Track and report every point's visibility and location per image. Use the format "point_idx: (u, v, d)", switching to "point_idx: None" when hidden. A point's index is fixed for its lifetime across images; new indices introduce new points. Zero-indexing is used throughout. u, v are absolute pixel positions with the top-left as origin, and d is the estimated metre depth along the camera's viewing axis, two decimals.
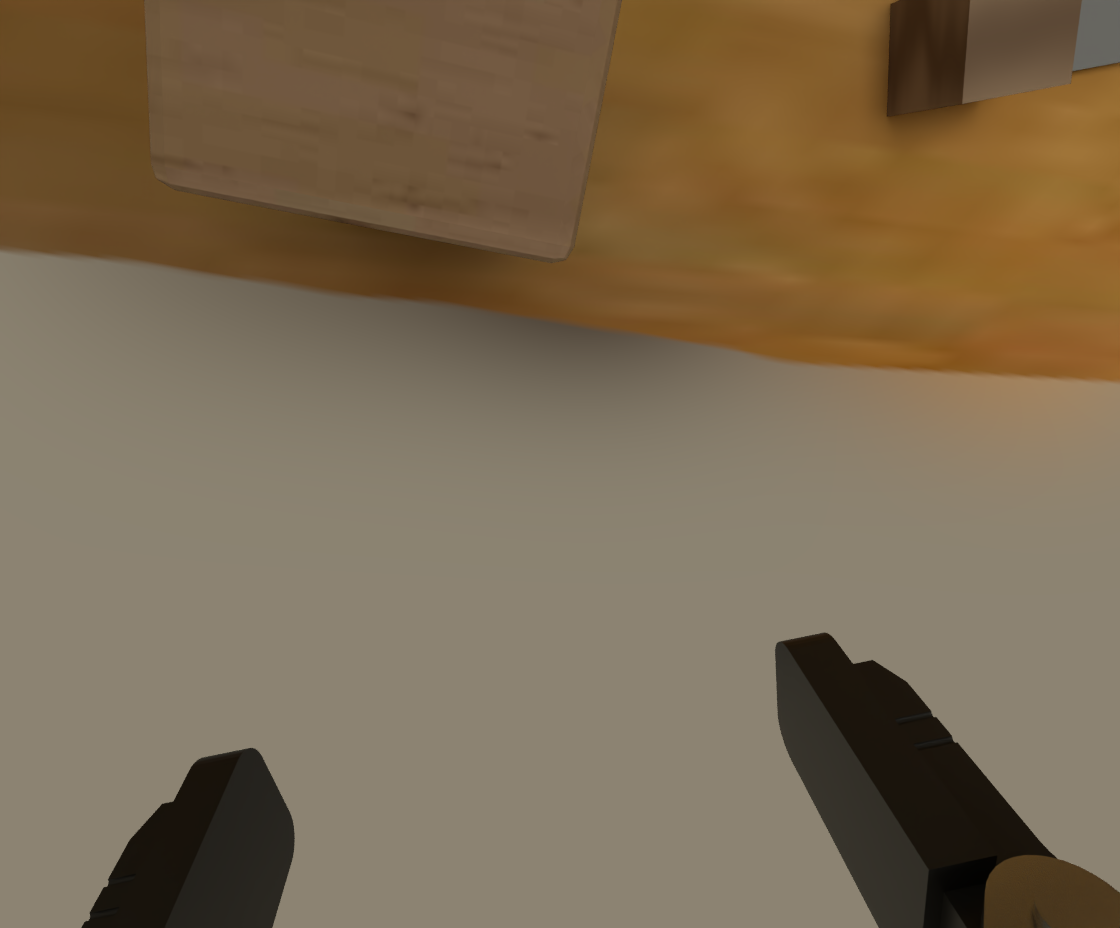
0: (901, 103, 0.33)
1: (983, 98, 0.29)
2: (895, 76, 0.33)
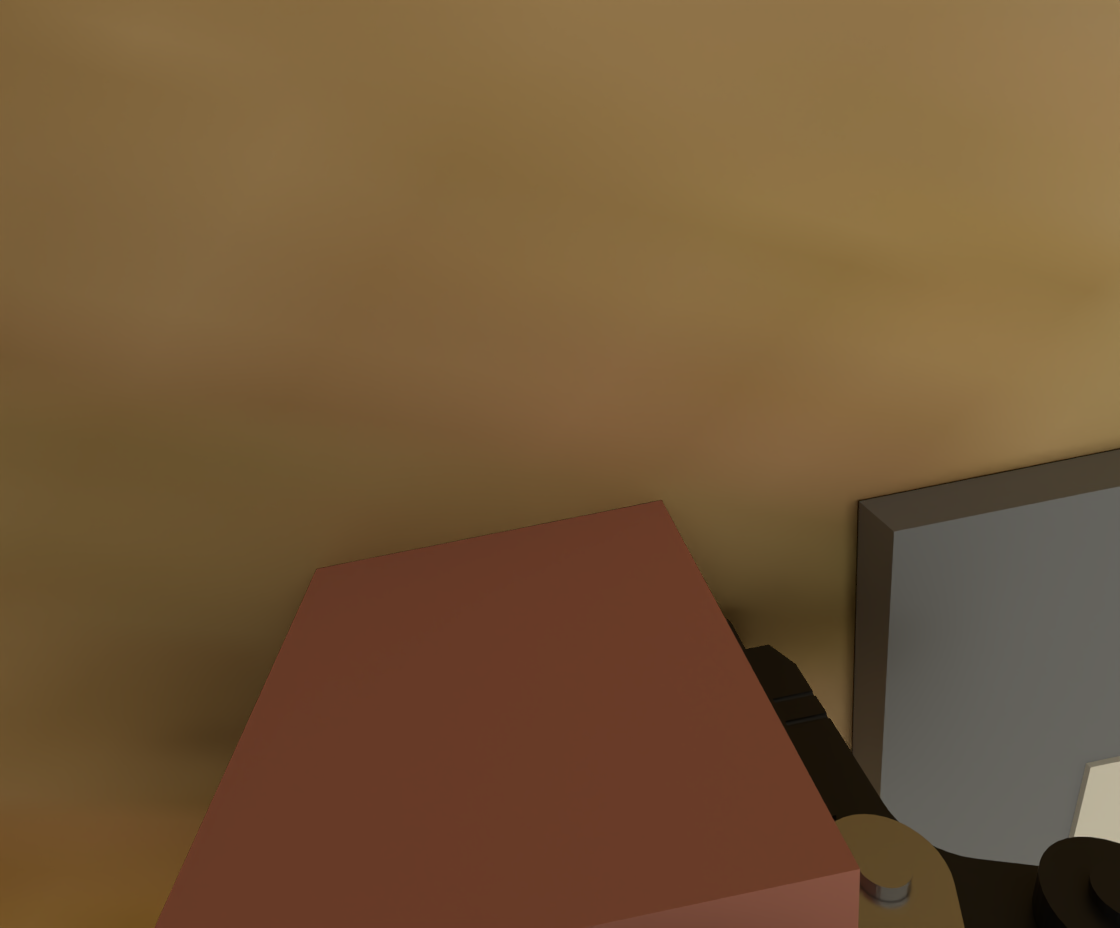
0: None
1: None
2: None
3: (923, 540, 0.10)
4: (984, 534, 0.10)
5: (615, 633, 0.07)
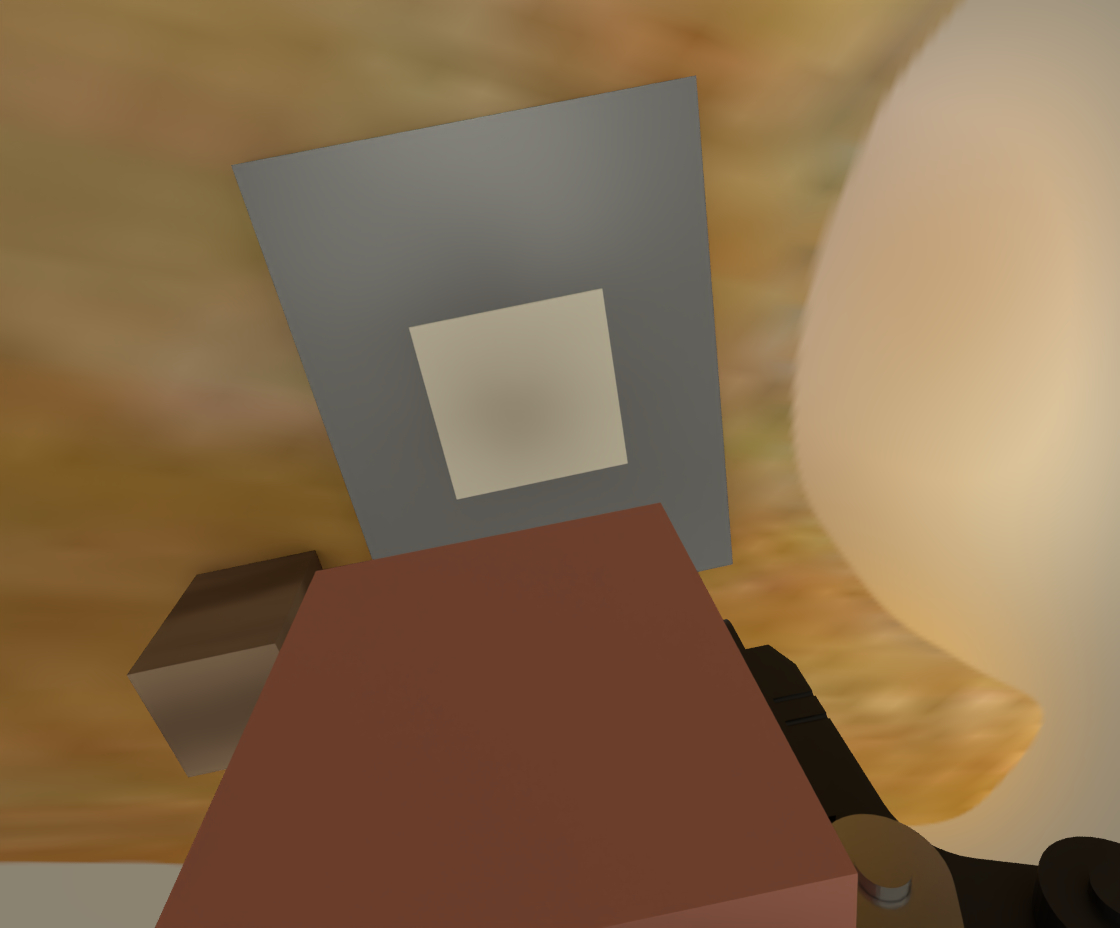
0: None
1: (214, 770, 0.24)
2: None
3: (249, 171, 0.20)
4: (280, 169, 0.20)
5: (615, 636, 0.08)
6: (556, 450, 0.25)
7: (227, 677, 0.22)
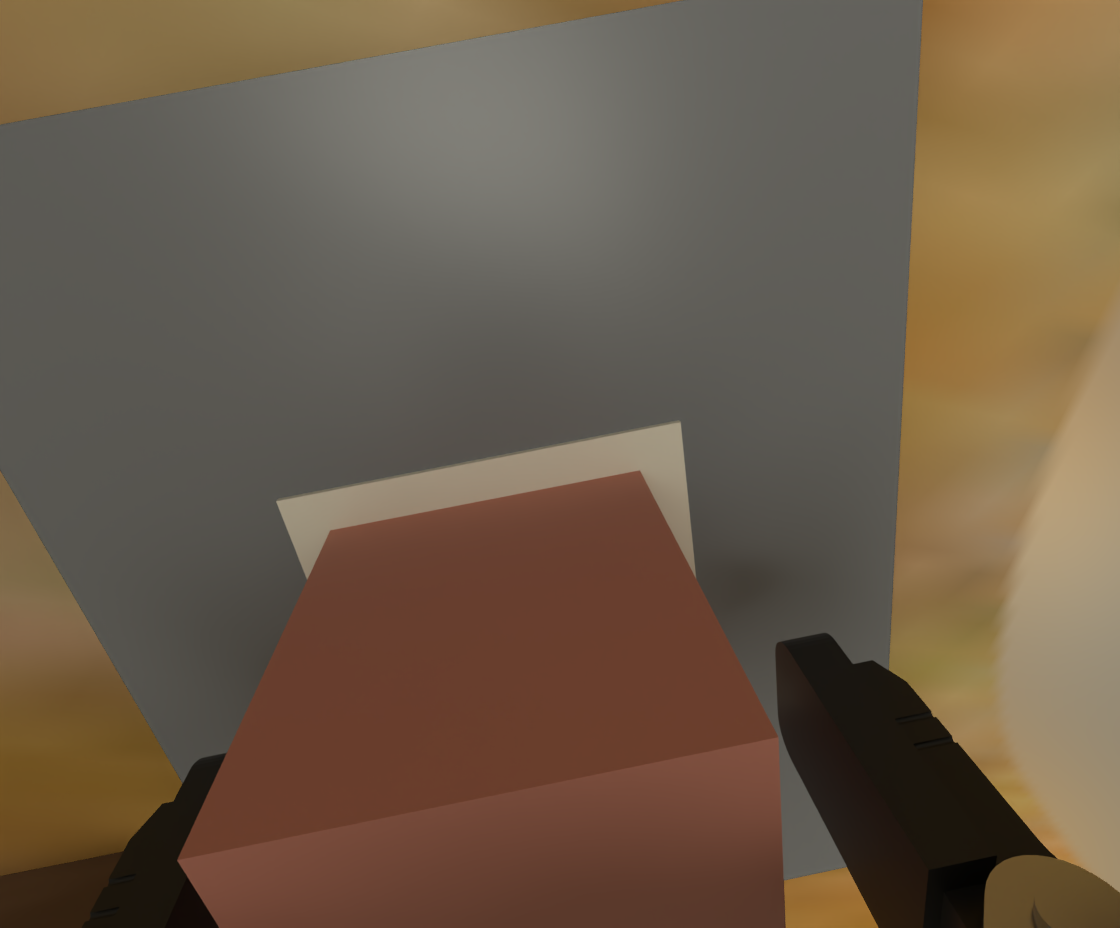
0: None
1: None
2: None
3: None
4: None
5: (594, 575, 0.09)
6: None
7: None
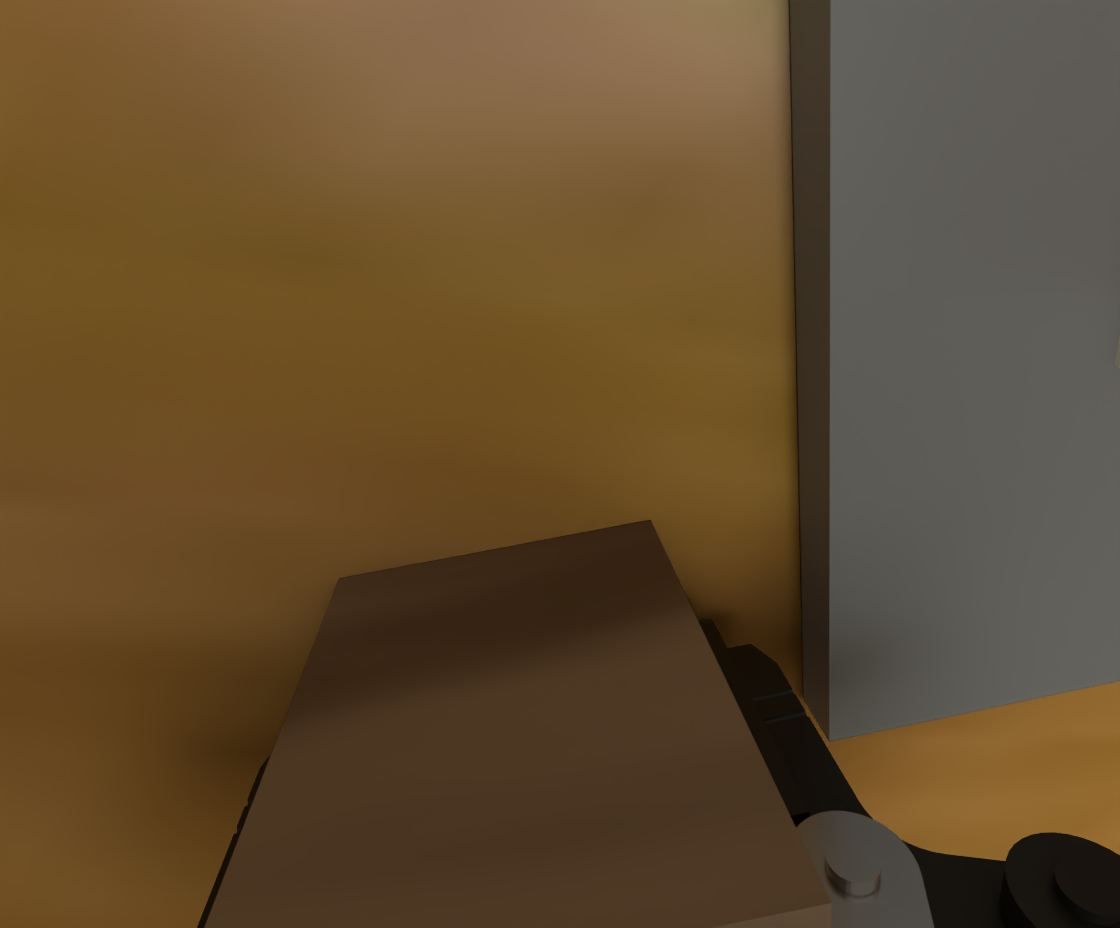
0: None
1: None
2: None
3: None
4: None
5: None
6: None
7: None
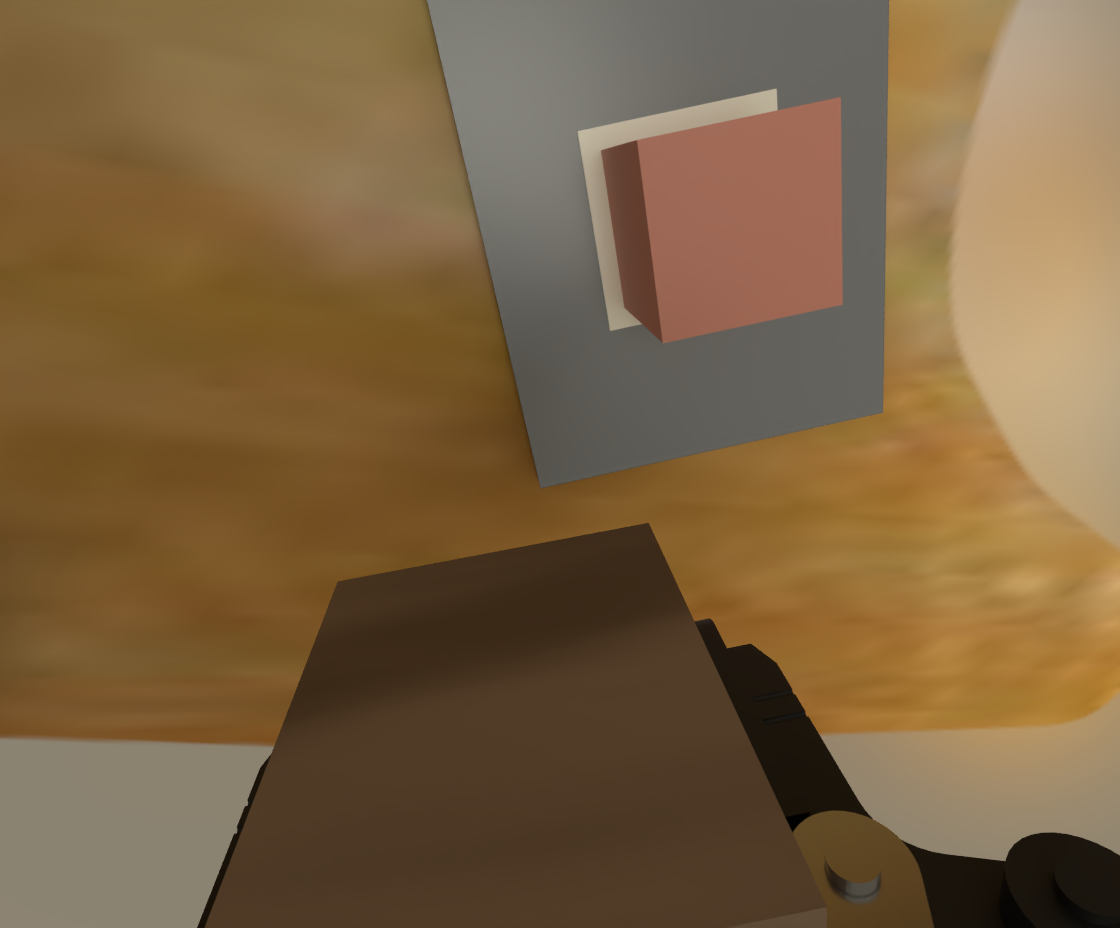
0: None
1: None
2: None
3: None
4: None
5: None
6: None
7: None
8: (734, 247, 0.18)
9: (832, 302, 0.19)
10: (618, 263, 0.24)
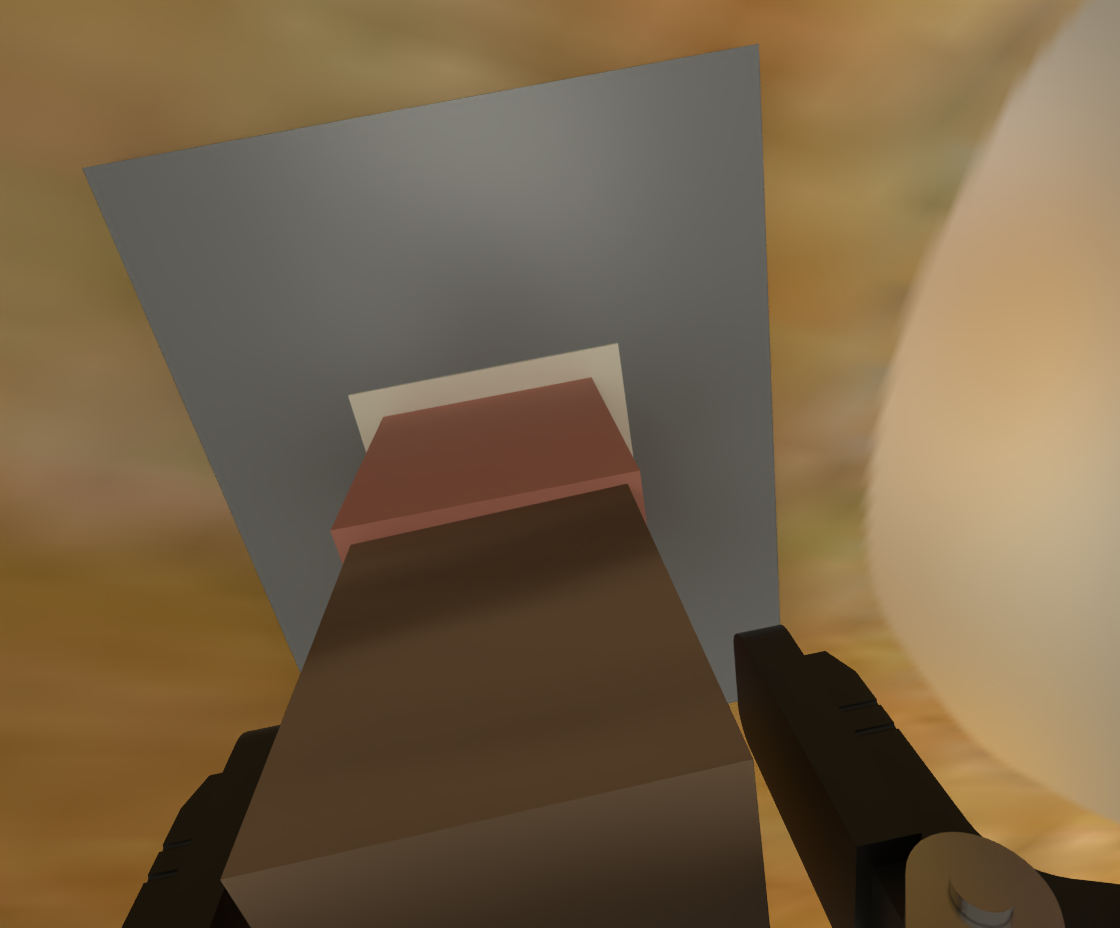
0: None
1: None
2: None
3: (109, 177, 0.14)
4: (155, 174, 0.14)
5: (554, 424, 0.14)
6: None
7: (563, 874, 0.06)
8: None
9: None
10: None
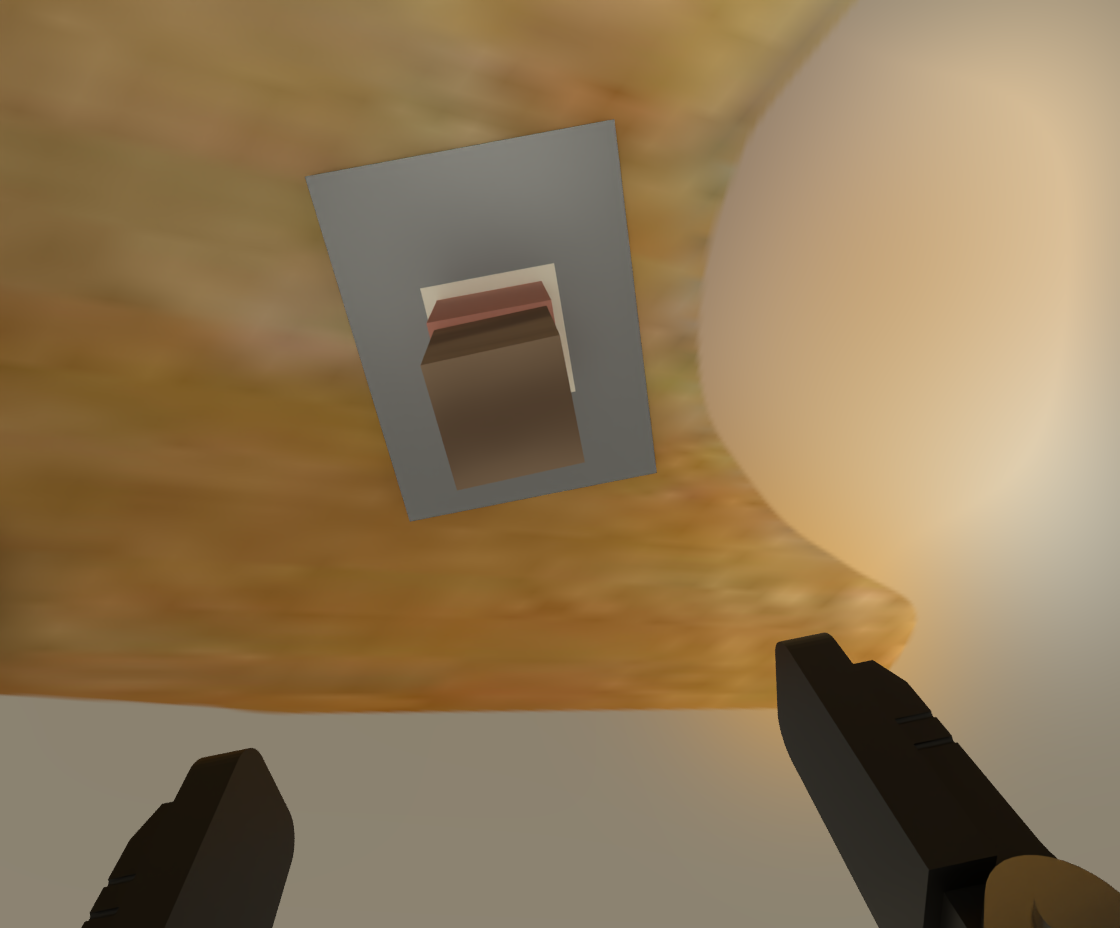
0: None
1: (481, 483, 0.25)
2: None
3: (316, 180, 0.31)
4: (337, 179, 0.31)
5: (520, 294, 0.31)
6: None
7: (510, 373, 0.23)
8: None
9: None
10: None
